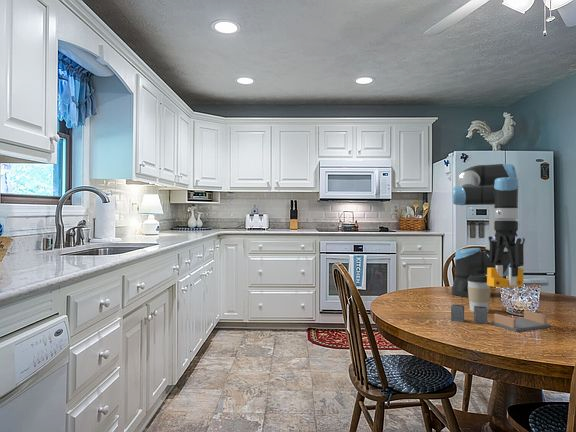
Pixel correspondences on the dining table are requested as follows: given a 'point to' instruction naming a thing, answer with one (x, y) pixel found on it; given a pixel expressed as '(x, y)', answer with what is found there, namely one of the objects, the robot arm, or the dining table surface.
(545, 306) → the dining table surface
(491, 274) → the pipe clamp
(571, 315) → the dining table surface
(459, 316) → the block
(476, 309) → the block
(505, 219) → the robot arm
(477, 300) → the coffee cup
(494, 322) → the end holder
